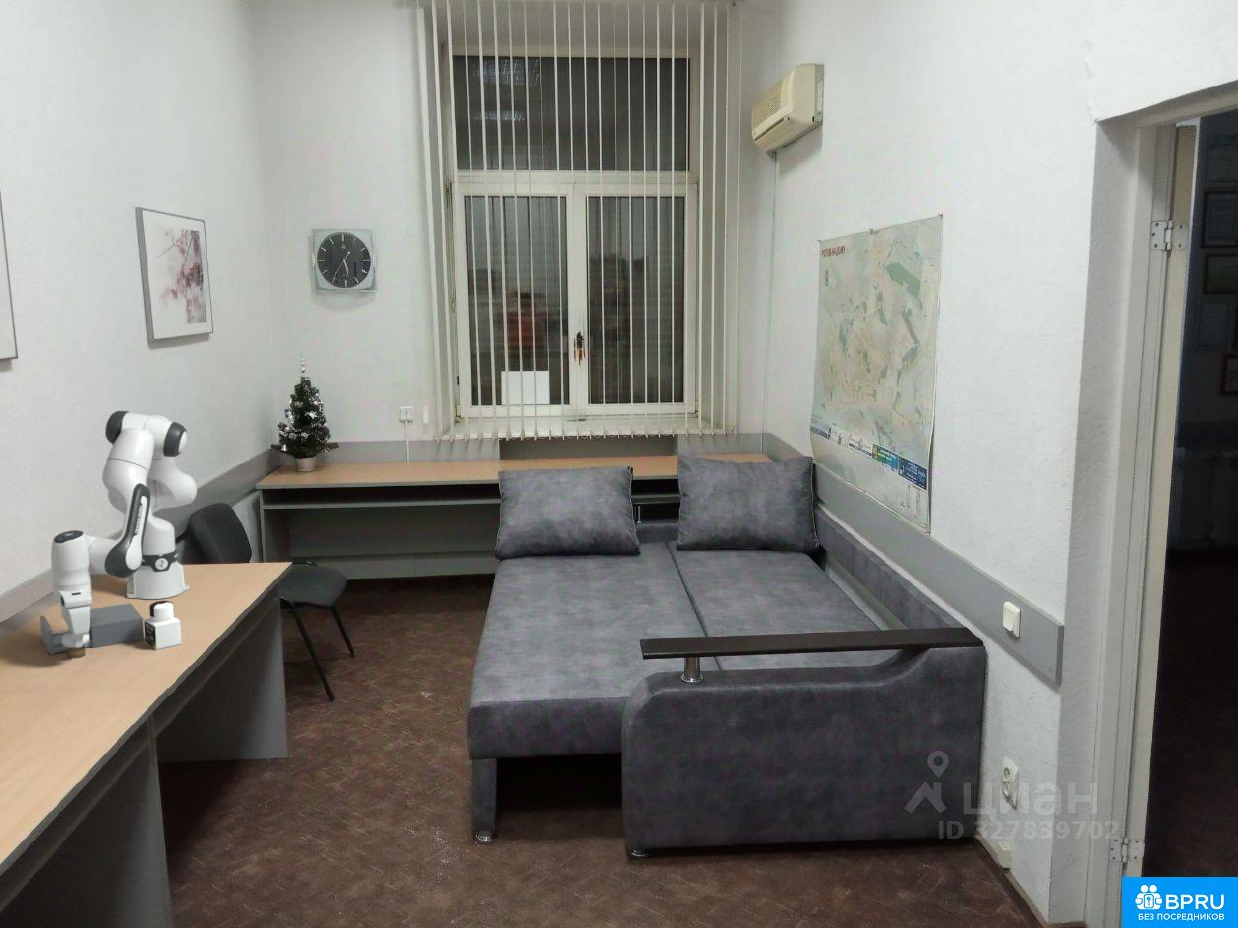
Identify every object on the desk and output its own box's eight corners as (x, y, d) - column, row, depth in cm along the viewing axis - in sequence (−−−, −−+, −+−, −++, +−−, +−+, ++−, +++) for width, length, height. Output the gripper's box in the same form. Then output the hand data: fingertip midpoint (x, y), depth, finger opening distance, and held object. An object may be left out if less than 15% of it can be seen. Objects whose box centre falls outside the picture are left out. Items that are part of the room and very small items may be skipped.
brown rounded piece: (67, 654, 268) (66, 642, 267) (84, 651, 270) (83, 639, 270) (69, 659, 265) (68, 646, 264) (86, 656, 267) (85, 643, 267)
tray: (41, 638, 280) (39, 615, 278) (93, 629, 287) (91, 607, 286) (49, 654, 267) (48, 631, 266) (104, 645, 275) (102, 622, 274)
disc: (60, 641, 268) (60, 634, 267) (87, 637, 271) (86, 630, 271) (64, 648, 262) (64, 641, 262) (91, 644, 266) (91, 637, 266)
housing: (82, 631, 286) (80, 610, 285) (131, 623, 294) (130, 603, 293) (92, 647, 273) (91, 626, 272) (144, 639, 281) (142, 617, 280)
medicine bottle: (145, 643, 278) (142, 602, 276) (170, 637, 283) (168, 597, 281) (155, 650, 273) (153, 608, 271) (181, 644, 278) (179, 602, 276)
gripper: (53, 584, 271) (56, 633, 273) (65, 604, 255) (69, 655, 257) (79, 581, 275) (82, 629, 277) (93, 600, 259) (96, 650, 261)
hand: (76, 642), depth 267 cm, fingers closed on disc, 6 cm apart
